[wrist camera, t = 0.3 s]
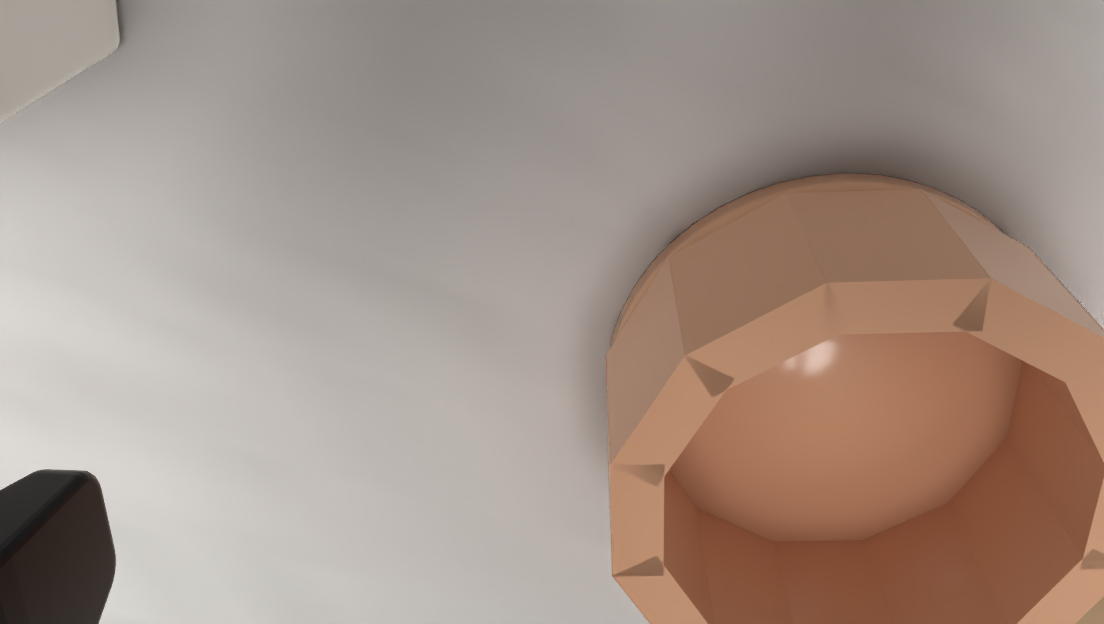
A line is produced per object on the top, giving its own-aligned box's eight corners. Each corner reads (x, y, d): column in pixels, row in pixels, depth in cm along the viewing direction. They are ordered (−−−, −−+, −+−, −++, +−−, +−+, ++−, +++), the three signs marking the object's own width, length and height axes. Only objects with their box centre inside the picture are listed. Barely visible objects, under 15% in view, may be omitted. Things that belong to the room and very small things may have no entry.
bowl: (1008, 542, 26) (1095, 702, 22) (609, 549, 26) (615, 707, 22) (1087, 165, 21) (1219, 271, 17) (600, 181, 22) (605, 288, 17)
